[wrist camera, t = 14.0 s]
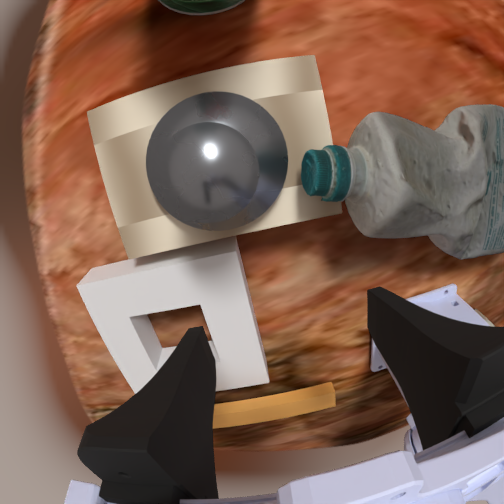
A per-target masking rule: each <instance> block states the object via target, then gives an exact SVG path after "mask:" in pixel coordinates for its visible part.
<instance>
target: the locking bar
mask: <svg viewBox="0 0 504 504" xmlns="http://www.w3.org/2000/svg"><path fill="white" fill-rule="evenodd" d="M334 406H335V390H334V388H333V385H332V382H328V383H325V384H321V385H316V386H312V387H308V388H304V389H299V390H295V391H290V392H285V393H280V394H275V395H270V396H265V397H259V398H253V399H247V400H241V401H234V402H227V403H220V404H214V415H213V429H214V428H223V427H231V426H239V425H246V424H253V423H259V422H265V421H271V420H276V419H281V418H287V417H291V416H296V415H301V414H305V413H310V412H314V411H318V410H322V409H326V408H330V407H334Z"/></svg>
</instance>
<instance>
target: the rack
mask: <svg viewBox="0 0 504 504" xmlns="http://www.w3.org/2000/svg"><path fill="white" fill-rule="evenodd" d="M213 91H219V92H230V93H235V94H239V95H242V96H244V97H247V98H249V99H251V100H253V101H254V102H256V103H258V104H259V105H261V106H262V107H263V108H264V109H265V110H267V111H268V113H269V114H270V115H271V116H272V117H273V118H274V119H275V121H276V122H277V124H278V125H279V127H280V129H281V131H282V133H283V136H284V138H285V141H286V146H287V150H288V170H287V175H286V179H285V182H284V185H283V188H282V190H281V192H280V194H279V196H278V197H277V199H276V200H275V202H274V203H273V204H272V205H271V206H270V208H269V209H268V210H267V211H266V212H264V213H263V214H262V215H261V216H260V217H258V218H257V219H255V220H254V221H252V222H250V223H248V224H246V225H244V226H241V227H238V228H234V229H230V230H223V231H209V230H202V229H198V228H194V227H191V226H189V225H186V224H184V223H182V222H181V221H179V220H177V219H176V218H174V217H173V216H172V215H170V214H169V213H168V212H167V211H166V210H165V209H164V208H163V207H162V205H161V204H160V203H159V202H158V200H157V199H156V197H155V195H154V194H153V191H152V189H151V187H150V184H149V181H148V177H147V171H146V153H147V147H148V143H149V140H150V137H151V135H152V132H153V130H154V129H155V127H156V125H157V123H158V122H159V121H160V120H161V118H162V117H163V116H164V115H165V114H166V113H167V112H168V111H169V110H170V109H171V108H172V107H174V106H175V105H176V104H178V103H179V102H181V101H183V100H185V99H186V98H189V97H191V96H194V95H197V94H201V93H205V92H213ZM87 115H88V120H89V125H90V129H91V134H92V138H93V142H94V146H95V151H96V155H97V159H98V162H99V166H100V170H101V174H102V177H103V181H104V184H105V188H106V191H107V195H108V198H109V201H110V205H111V208H112V211H113V214H114V217H115V221H116V224H117V227H118V230H119V233H120V236H121V239H122V241H123V244H124V247H125V250H126V253H127V256H128V258H129V259H134V258H138V257H142V256H147V255H151V254H155V253H160V252H164V251H168V250H173V249H177V248H181V247H186V246H190V245H195V244H199V243H204V242H208V241H213V240H217V239H222V238H226V237H231V236H236V235H240V234H245V233H249V232H254V231H259V230H263V229H268V228H273V227H278V226H282V225H287V224H292V223H297V222H302V221H306V220H311V219H316V218H321V217H326V216H331V215H336V214H341V213H342V206H341V201H338V202H326V201H321V199H322V196H309V195H307V193H306V192H305V190H304V188H303V186H302V180H301V163H302V160H303V157H304V154H305V153H306V151H308V150H310V149H314V150H322V149H323V148H324V147H325V146H327V145H333V143H332V137H331V131H330V126H329V120H328V115H327V110H326V105H325V100H324V95H323V90H322V85H321V81H320V76H319V72H318V68H317V63H316V59H315V55H309V56H298V57H289V58H281V59H274V60H267V61H260V62H254V63H248V64H243V65H237V66H232V67H227V68H223V69H218V70H213V71H209V72H205V73H201V74H197V75H193V76H189V77H185V78H182V79H178V80H174V81H171V82H168V83H164V84H161V85H158V86H155V87H151V88H148V89H145V90H142V91H139V92H137V93H134V94H131V95H128V96H125V97H123V98H120V99H117V100H115V101H112V102H110V103H107V104H105V105H102V106H100V107H97V108H95V109H92V110H90V111H88V112H87Z"/></svg>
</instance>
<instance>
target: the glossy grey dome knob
mask: <svg viewBox="0 0 504 504" xmlns="http://www.w3.org/2000/svg"><path fill="white" fill-rule="evenodd" d="M287 170H288V150H287V146H286V141H285V138H284V136H283V133H282V131H281V129H280V127H279V125H278V124H277V122H276V121H275V119H274V118H273V117H272V116H271V115H270V114H269V113H268V111H267V110H265V109H264V108H263V107H262V106H261V105H259V104H258V103H256V102H254V101H253V100H251V99H249V98H247V97H244V96H242V95H239V94H235V93H230V92H219V91H213V92H205V93H201V94H197V95H194V96H191V97H189V98H186V99H185V100H183V101H181V102H179V103H178V104H176V105H175V106H174V107H172V108H171V109H170V110H169V111H168V112H167V113H166V114H165V115H164V116H163V117H162V118H161V120H160V121H159V122H158V123H157V125H156V127H155V129H154V130H153V132H152V135H151V137H150V140H149V143H148V147H147V153H146V171H147V177H148V181H149V184H150V187H151V189H152V191H153V194H154V195H155V197H156V199H157V200H158V202H159V203H160V204H161V205H162V207H163V208H164V209H165V210H166V211H167V212H168V213H169V214H170V215H172V216H173V217H174V218H176V219H177V220H179V221H181V222H182V223H184V224H186V225H189V226H191V227H194V228H198V229H202V230H209V231H223V230H230V229H234V228H238V227H241V226H244V225H246V224H248V223H250V222H252V221H254V220H255V219H257V218H258V217H260V216H261V215H262V214H263V213H264V212H266V211H267V210H268V209H269V208H270V206H271V205H272V204H273V203H274V202H275V200H276V199H277V197H278V196H279V194H280V192H281V190H282V188H283V185H284V182H285V179H286V175H287Z"/></svg>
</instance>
